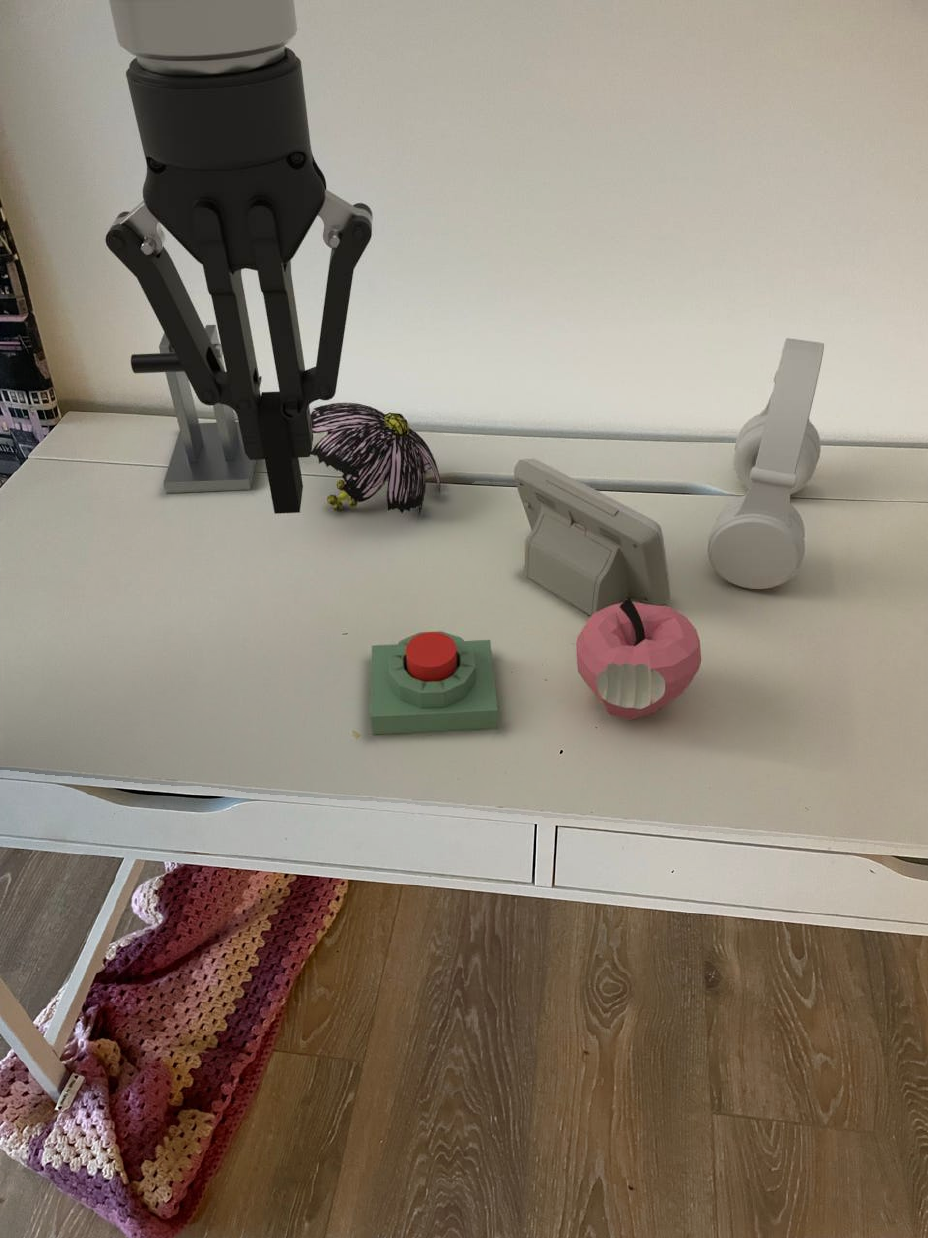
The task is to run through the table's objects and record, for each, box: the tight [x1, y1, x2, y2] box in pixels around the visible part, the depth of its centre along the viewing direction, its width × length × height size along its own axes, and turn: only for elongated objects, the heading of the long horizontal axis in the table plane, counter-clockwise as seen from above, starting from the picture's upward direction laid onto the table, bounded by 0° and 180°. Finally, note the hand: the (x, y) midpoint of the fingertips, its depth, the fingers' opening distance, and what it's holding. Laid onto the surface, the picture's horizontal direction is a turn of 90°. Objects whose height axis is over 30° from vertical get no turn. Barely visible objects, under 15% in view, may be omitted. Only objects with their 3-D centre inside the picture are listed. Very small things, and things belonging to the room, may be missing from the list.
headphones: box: [707, 337, 825, 590], centre depth 87 cm, size 20×8×19 cm, turn 160°
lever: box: [130, 352, 184, 374], centre depth 90 cm, size 13×6×2 cm, turn 3°
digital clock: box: [513, 458, 671, 617], centre depth 85 cm, size 16×9×11 cm, turn 33°
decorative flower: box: [310, 402, 442, 517], centre depth 95 cm, size 14×12×15 cm
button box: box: [369, 630, 499, 736], centre depth 76 cm, size 10×8×4 cm
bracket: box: [158, 324, 257, 494], centre depth 99 cm, size 12×9×15 cm
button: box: [406, 631, 457, 682], centre depth 75 cm, size 4×4×2 cm
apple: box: [575, 597, 702, 721], centre depth 73 cm, size 10×9×10 cm
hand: (289, 499), depth 56 cm, fingers closed
